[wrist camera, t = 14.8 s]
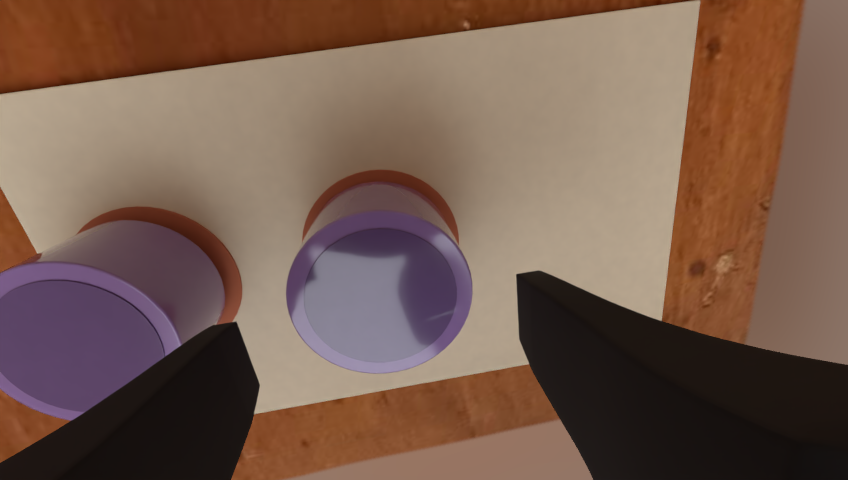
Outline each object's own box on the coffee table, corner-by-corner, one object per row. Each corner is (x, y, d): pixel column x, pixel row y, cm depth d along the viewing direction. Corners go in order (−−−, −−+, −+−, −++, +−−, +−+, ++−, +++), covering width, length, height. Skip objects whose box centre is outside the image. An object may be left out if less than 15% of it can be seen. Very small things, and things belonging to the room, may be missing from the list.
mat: (143, 428, 18) (137, 437, 17) (-36, 100, 12) (-53, 100, 12) (654, 335, 19) (661, 342, 18) (692, 1, 13) (703, -2, 13)
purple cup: (396, 329, 16) (401, 401, 13) (281, 262, 15) (248, 323, 11) (477, 231, 15) (510, 278, 11) (362, 147, 14) (356, 170, 10)
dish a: (191, 364, 16) (134, 449, 12) (48, 300, 14) (-68, 376, 11) (258, 266, 15) (217, 327, 11) (110, 183, 13) (3, 222, 9)
